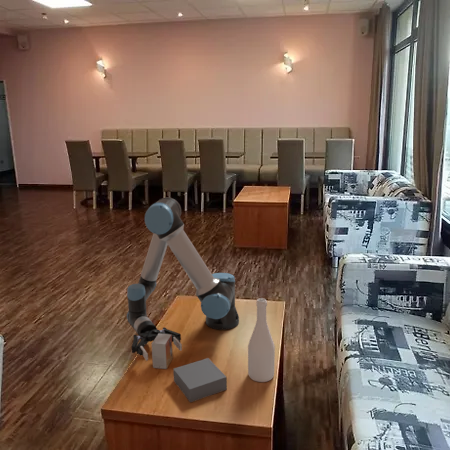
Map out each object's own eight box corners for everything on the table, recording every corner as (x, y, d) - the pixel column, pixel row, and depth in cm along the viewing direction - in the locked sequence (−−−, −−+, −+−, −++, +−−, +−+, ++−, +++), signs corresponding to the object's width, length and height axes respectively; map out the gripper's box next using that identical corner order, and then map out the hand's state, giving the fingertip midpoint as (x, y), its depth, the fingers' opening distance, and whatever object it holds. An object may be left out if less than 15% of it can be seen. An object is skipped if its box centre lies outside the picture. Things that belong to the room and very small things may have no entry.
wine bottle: (244, 380, 162) (244, 303, 154) (252, 366, 171) (252, 292, 163) (270, 385, 159) (271, 307, 151) (276, 370, 167) (278, 296, 160)
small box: (166, 369, 169) (165, 344, 167) (152, 368, 170) (151, 343, 168) (173, 358, 177) (172, 334, 174) (159, 356, 178) (158, 332, 175)
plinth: (208, 369, 169) (208, 357, 167) (226, 389, 157) (226, 376, 155) (173, 381, 162) (173, 368, 161) (190, 402, 150) (189, 389, 149)
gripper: (173, 329, 195) (194, 352, 177) (116, 344, 183) (132, 370, 165) (172, 313, 193) (193, 335, 175) (115, 328, 181) (131, 352, 163)
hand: (164, 352), depth 170 cm, fingers open, 13 cm apart
